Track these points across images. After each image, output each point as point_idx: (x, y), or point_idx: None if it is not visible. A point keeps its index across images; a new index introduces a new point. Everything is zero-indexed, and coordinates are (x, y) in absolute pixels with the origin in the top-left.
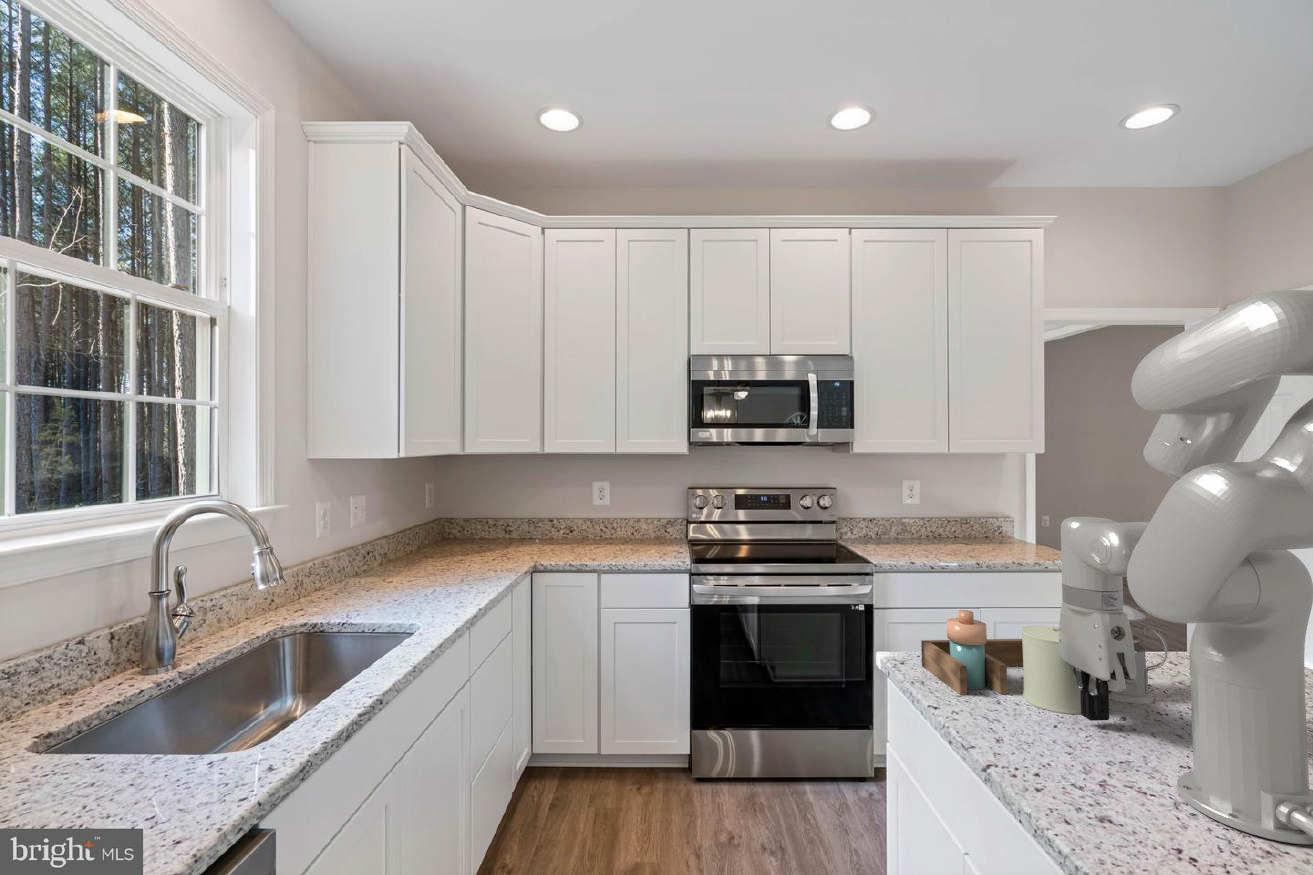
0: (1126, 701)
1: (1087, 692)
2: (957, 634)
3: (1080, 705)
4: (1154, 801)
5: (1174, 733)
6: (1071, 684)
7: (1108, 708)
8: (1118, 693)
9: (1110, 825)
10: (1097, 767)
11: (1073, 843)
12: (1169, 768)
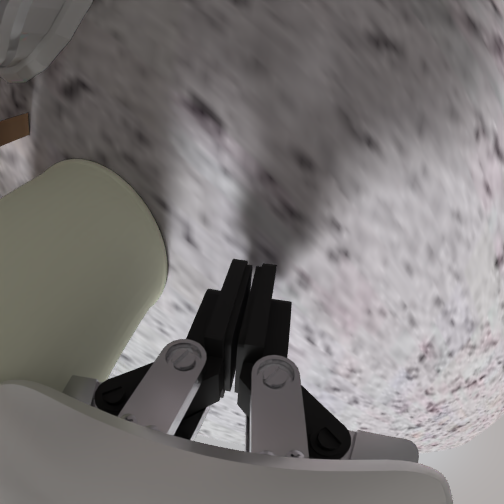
0: (85, 8)
1: (228, 385)
2: None
3: (147, 251)
4: (486, 383)
5: (363, 37)
6: (116, 336)
7: (271, 293)
8: (51, 20)
9: (461, 428)
10: (407, 394)
11: (448, 447)
12: (485, 295)
